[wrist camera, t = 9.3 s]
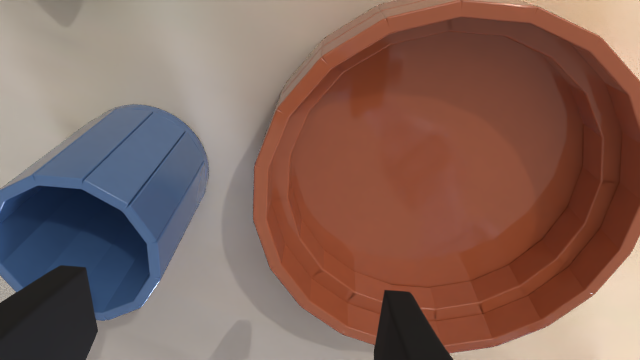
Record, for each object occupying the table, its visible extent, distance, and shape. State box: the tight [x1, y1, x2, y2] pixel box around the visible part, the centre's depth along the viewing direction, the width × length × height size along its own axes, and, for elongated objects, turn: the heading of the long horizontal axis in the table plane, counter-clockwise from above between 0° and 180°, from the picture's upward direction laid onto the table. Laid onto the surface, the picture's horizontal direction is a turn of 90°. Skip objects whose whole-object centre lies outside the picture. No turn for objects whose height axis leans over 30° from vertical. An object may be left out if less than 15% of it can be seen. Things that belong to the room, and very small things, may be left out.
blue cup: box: [0, 105, 209, 321], centre depth 17 cm, size 5×5×6 cm
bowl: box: [253, 0, 640, 353], centre depth 18 cm, size 14×14×4 cm
